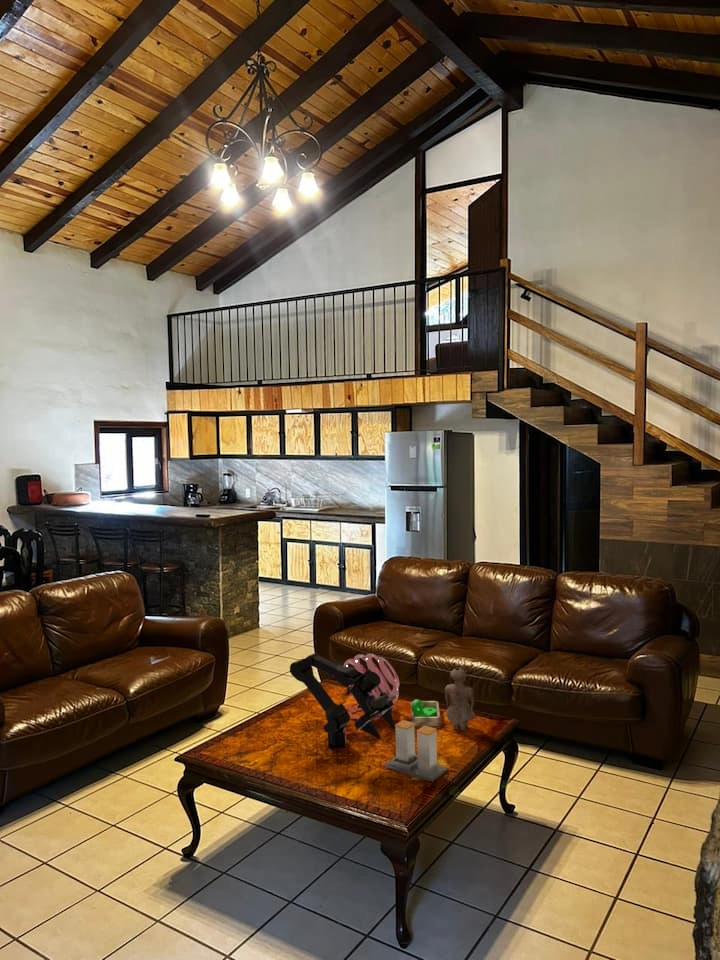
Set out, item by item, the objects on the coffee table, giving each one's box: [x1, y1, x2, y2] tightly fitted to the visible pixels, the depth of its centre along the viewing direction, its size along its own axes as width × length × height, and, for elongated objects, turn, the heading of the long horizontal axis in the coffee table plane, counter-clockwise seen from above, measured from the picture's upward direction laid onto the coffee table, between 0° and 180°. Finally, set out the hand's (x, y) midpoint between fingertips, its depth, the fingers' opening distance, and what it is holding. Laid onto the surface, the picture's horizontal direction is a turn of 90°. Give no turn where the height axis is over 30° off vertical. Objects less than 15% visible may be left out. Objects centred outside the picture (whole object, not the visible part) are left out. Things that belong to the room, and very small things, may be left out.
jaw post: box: [395, 719, 416, 765], centre depth 259 cm, size 5×5×15 cm
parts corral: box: [410, 700, 441, 727], centre depth 303 cm, size 12×18×4 cm, turn 177°
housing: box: [384, 725, 448, 783], centre depth 256 cm, size 20×10×16 cm, turn 54°
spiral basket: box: [343, 653, 400, 721], centre depth 306 cm, size 28×28×27 cm
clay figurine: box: [444, 667, 476, 731], centre depth 290 cm, size 13×10×25 cm
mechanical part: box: [410, 699, 437, 717], centre depth 304 cm, size 12×6×8 cm, turn 138°
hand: (387, 733), depth 264 cm, fingers open, 9 cm apart
